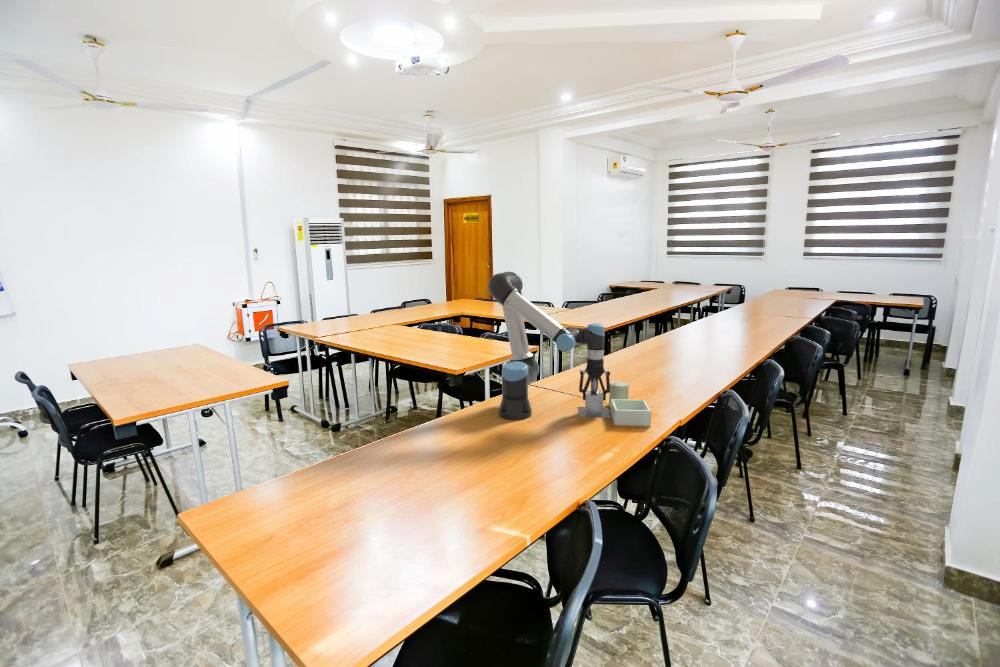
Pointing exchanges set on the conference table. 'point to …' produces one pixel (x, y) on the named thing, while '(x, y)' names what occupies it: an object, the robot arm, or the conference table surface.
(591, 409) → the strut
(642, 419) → the bin
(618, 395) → the can
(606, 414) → the stud plate
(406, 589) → the conference table surface
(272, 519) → the conference table surface
